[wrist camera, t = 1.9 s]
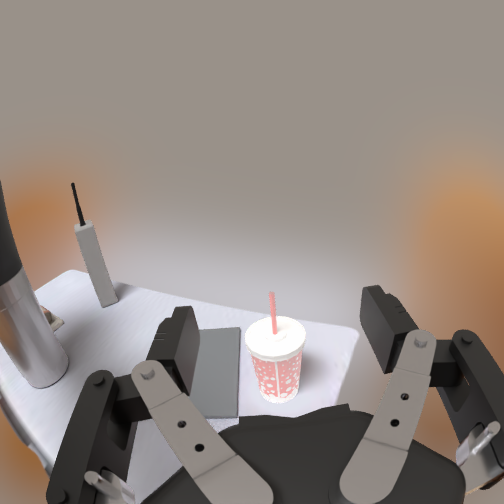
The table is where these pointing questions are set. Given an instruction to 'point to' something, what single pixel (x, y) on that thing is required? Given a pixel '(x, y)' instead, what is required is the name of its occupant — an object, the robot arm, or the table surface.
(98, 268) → the vintage mobile phone
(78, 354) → the table surface
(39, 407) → the table surface
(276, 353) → the beverage cup
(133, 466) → the table surface
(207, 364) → the mat
